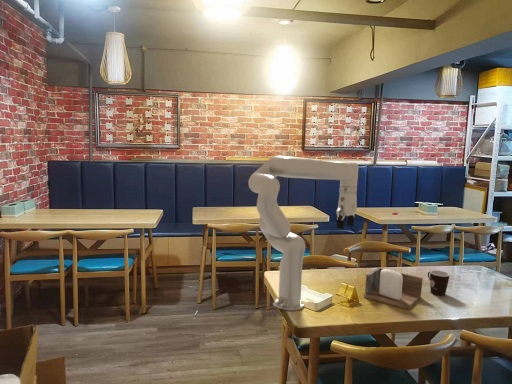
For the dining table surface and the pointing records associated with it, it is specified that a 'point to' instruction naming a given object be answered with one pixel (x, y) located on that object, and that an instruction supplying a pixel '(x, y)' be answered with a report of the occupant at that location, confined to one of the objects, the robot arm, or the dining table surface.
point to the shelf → (409, 290)
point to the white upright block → (391, 284)
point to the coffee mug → (438, 282)
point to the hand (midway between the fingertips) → (345, 227)
